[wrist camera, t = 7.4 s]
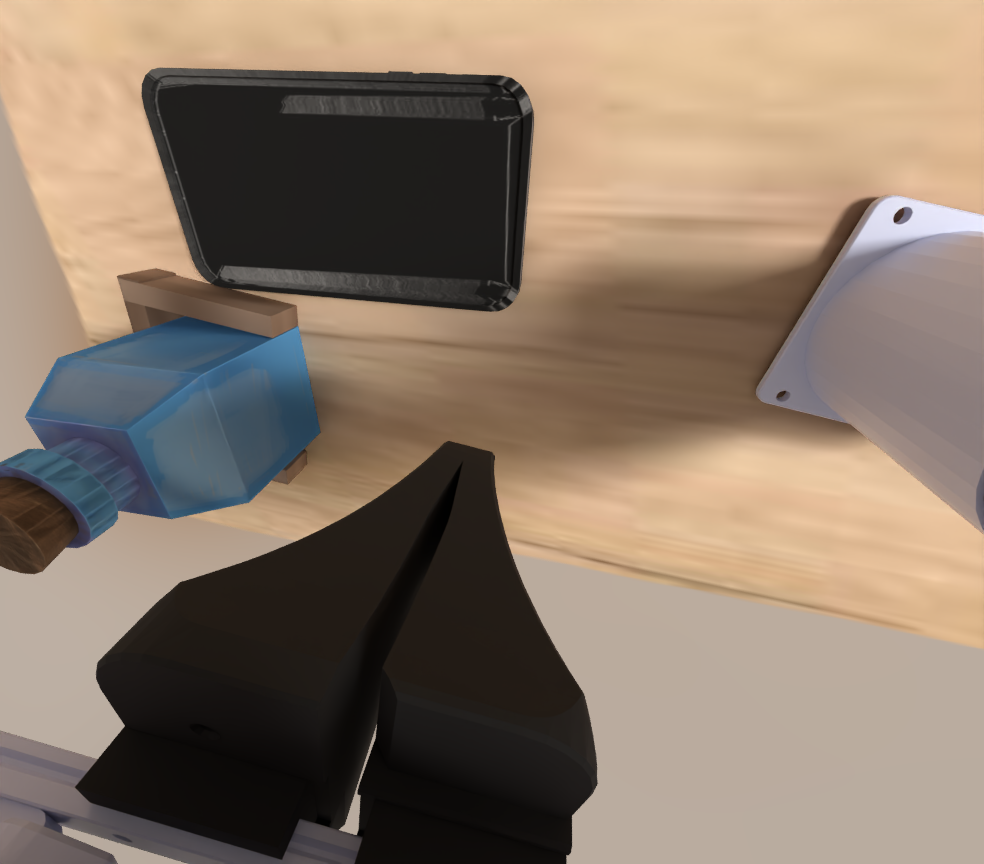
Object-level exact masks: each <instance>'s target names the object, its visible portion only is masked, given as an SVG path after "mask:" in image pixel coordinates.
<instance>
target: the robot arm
mask: <svg viewBox="0 0 984 864" xmlns="http://www.w3.org/2000/svg"><path fill="white" fill-rule="evenodd" d="M901 208H904V215H903V217H902V218H901V219H900V220H899V221H898V222H896V223H894V221H893V217H894V215H895V213H896V212H897V211H898V210H899V209H901ZM781 391H786V393H785V395H783V396H782V397H780V398H776V396H777V394H778V393H779V392H781ZM756 396H757V397H758V398H759V399H760V400H761V401H762V402H764V403H767V404H772V405H776V406H780V407H784V408H788V409H792V410H796V411H800V412H804V413H808V414H812V415H816V416H820V417H824V418H828V419H832V420H836V421H840V422H844V423H848V424H851V425H852V426H853V427H854V428H855V429H857V430H858V431H859V432H860V433H862V434H863V435H864V436H865V437H866V438H868V439H869V440H870V441H871V442H872V443H874V444H875V445H876V446H877V447H878V448H880V449H881V450H882V451H883V452H884V453H886V454H887V455H888V456H889V457H891V458H892V459H893V460H894V461H895V462H897V463H898V464H899V465H900V466H901V467H903V468H904V469H905V470H906V471H907V472H909V473H910V474H911V475H912V476H914V477H915V478H916V479H917V480H918V481H920V482H921V483H922V484H923V485H924V486H926V487H927V488H928V489H929V490H930V491H932V492H933V493H934V494H935V495H936V496H938V497H939V498H940V499H941V500H943V501H944V502H945V503H946V504H947V505H949V506H950V507H951V508H952V509H953V510H955V511H956V512H957V513H958V514H959V515H961V516H962V517H963V518H964V519H966V520H967V521H968V522H969V523H970V524H972V525H973V526H974V527H975V528H976V529H978V530H979V531H980V532H981V533H982V534H984V215H981V214H976V213H972V212H968V211H963V210H959V209H954V208H950V207H946V206H941V205H937V204H933V203H928V202H924V201H919V200H915V199H911V198H906V197H902V196H892V195H885V196H882V197H880V198H878V199H876V200H875V201H873V202H872V203H871V204H870V205H869V207H868V208H867V209H866V211H865V212H864V214H863V216H862V217H861V219H860V221H859V222H858V224H857V225H856V227H855V229H854V230H853V232H852V234H851V235H850V237H849V238H848V240H847V242H846V243H845V245H844V247H843V248H842V250H841V251H840V253H839V255H838V256H837V258H836V260H835V261H834V263H833V264H832V266H831V268H830V269H829V271H828V273H827V274H826V276H825V277H824V279H823V281H822V282H821V284H820V286H819V287H818V289H817V290H816V292H815V294H814V295H813V297H812V299H811V300H810V302H809V304H808V305H807V307H806V308H805V310H804V312H803V313H802V315H801V317H800V318H799V320H798V321H797V323H796V325H795V326H794V328H793V330H792V331H791V333H790V334H789V336H788V338H787V339H786V341H785V343H784V344H783V346H782V347H781V349H780V351H779V352H778V354H777V356H776V357H775V359H774V360H773V362H772V364H771V365H770V367H769V369H768V370H767V372H766V373H765V375H764V377H763V378H762V380H761V382H760V383H759V385H758V387H757V389H756ZM494 460H495V456H494V454H493V453H492V452H490V451H486V450H482V449H478V448H474V447H470V446H466V445H462V444H459V443H455V442H451V441H447V442H445V443H444V444H443V445H442V446H441V447H440V448H439V449H438V450H437V451H436V452H435V453H433V454H432V455H431V456H430V457H429V458H428V459H427V460H426V461H425V462H423V463H422V464H421V465H420V466H419V467H417V468H416V469H415V470H414V471H413V472H411V473H410V474H409V475H408V476H406V477H405V478H404V479H403V480H401V481H400V482H399V483H397V484H396V485H394V486H393V487H391V488H390V489H389V490H387V491H386V492H384V493H383V494H382V495H380V496H379V497H377V498H376V499H374V500H373V501H371V502H370V503H368V504H366V505H365V506H363V507H362V508H360V509H358V510H357V511H355V512H353V513H351V514H350V515H348V516H346V517H344V518H343V519H341V520H339V521H337V522H335V523H333V524H331V525H329V526H327V527H325V528H323V529H321V530H319V531H317V532H315V533H313V534H311V535H309V536H307V537H305V538H302V539H300V540H298V541H296V542H293V543H291V544H288V545H286V546H284V547H281V548H279V549H276V550H274V551H271V552H269V553H267V554H264V555H261V556H259V557H256V558H253V559H251V560H248V561H245V562H242V563H239V564H236V565H233V566H230V567H227V568H224V569H221V570H218V571H215V572H212V573H209V574H205V575H202V576H199V577H196V578H193V579H189V580H186V581H183V582H180V583H179V584H178V585H177V586H175V587H174V588H173V589H172V590H171V591H170V592H169V593H167V594H166V595H165V596H164V597H163V598H162V599H160V600H159V601H158V602H157V603H156V604H155V605H154V606H153V607H152V608H151V609H150V610H149V611H148V612H147V613H146V614H145V615H144V616H143V617H142V618H141V619H140V620H139V621H138V622H137V623H136V624H135V625H134V626H133V627H132V628H131V629H130V630H129V631H128V632H127V633H126V634H125V635H124V636H123V637H122V638H121V639H120V640H119V641H118V642H117V643H116V644H115V645H114V646H113V647H112V648H111V649H110V650H109V651H108V652H107V653H106V654H105V655H104V656H103V657H102V659H100V660H99V662H98V664H97V670H96V679H97V682H98V684H99V686H100V689H101V690H102V692H103V693H104V695H105V696H106V698H107V699H108V701H109V702H110V704H111V705H112V707H113V708H114V710H115V711H116V713H117V714H118V716H119V717H120V719H121V720H122V722H123V723H124V725H125V727H124V728H123V729H122V731H121V732H120V733H119V734H118V736H117V737H116V738H115V739H114V740H113V741H112V743H111V744H110V745H109V746H108V748H107V749H106V750H105V751H104V752H103V754H102V755H101V756H100V757H99V759H95V758H92V757H88V756H84V755H81V754H78V753H75V752H71V751H68V750H64V749H61V748H57V747H54V746H51V745H47V744H44V743H41V742H37V741H34V740H30V739H27V738H23V737H20V736H17V735H13V734H10V733H6V732H3V731H0V864H118V863H117V861H116V860H115V858H114V856H113V855H112V854H110V853H108V852H105V851H103V850H100V849H98V848H95V847H93V846H91V845H88V844H86V843H83V842H81V841H78V840H76V839H73V838H71V837H69V836H66V835H63V833H62V826H65V827H68V828H71V829H75V830H78V831H81V832H85V833H88V834H91V835H95V836H98V837H101V838H104V839H108V840H111V841H115V842H118V843H121V844H125V845H128V846H131V847H135V848H138V849H141V850H144V851H148V852H151V853H154V854H158V855H161V856H164V857H168V858H171V859H174V860H178V861H181V862H184V863H188V864H566V855H569V854H570V853H571V848H572V815H573V814H574V813H575V812H576V811H577V810H578V809H579V808H580V806H581V805H582V804H583V803H584V802H585V801H586V800H587V799H588V798H589V797H590V796H591V795H592V794H593V792H594V790H595V788H596V786H597V762H596V752H595V745H594V739H593V733H592V727H591V722H590V717H589V713H588V708H587V704H586V700H585V696H584V693H583V692H582V690H581V688H580V687H579V685H578V684H577V682H576V681H575V679H574V678H573V676H572V674H571V673H570V671H569V670H568V668H567V666H566V665H565V663H564V661H563V660H562V658H561V656H560V655H559V653H558V651H557V650H556V648H555V646H554V644H553V643H552V641H551V639H550V637H549V635H548V633H547V632H546V630H545V628H544V626H543V624H542V622H541V620H540V618H539V616H538V614H537V612H536V610H535V608H534V606H533V604H532V602H531V599H530V597H529V595H528V593H527V591H526V589H525V587H524V585H523V582H522V580H521V577H520V575H519V572H518V570H517V567H516V565H515V562H514V559H513V556H512V553H511V551H510V548H509V544H508V541H507V538H506V535H505V531H504V527H503V523H502V519H501V515H500V511H499V505H498V500H497V495H496V488H495V478H494ZM376 725H377V730H376V739H375V742H374V745H373V747H372V750H371V753H370V756H369V759H368V762H367V764H366V767H365V770H364V773H363V776H362V779H361V782H360V785H359V788H358V795H361V798H360V815H359V830H358V833H357V835H353V834H350V833H347V832H343V831H340V830H339V829H340V828H341V827H342V826H343V825H345V822H346V819H347V816H348V813H349V810H350V806H351V803H352V800H353V797H354V794H355V790H356V787H357V784H358V781H359V778H360V774H361V771H362V768H363V765H364V762H365V759H366V756H367V753H368V750H369V746H370V743H371V740H372V737H373V734H374V731H375V728H376ZM60 825H61V826H60Z"/></svg>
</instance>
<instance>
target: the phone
mask: <svg viewBox="0 0 984 864" xmlns="http://www.w3.org/2000/svg"><path fill="white" fill-rule="evenodd" d="M142 99H143V104H144V108H145V111H146V115H147V118H148V121H149V124H150V127H151V130H152V133H153V137H154V140H155V143H156V146H157V149H158V152H159V155H160V159H161V162H162V165H163V168H164V171H165V174H166V178H167V181H168V184H169V187H170V190H171V193H172V196H173V200H174V203H175V206H176V209H177V212H178V215H179V218H180V222H181V225H182V228H183V231H184V234H185V237H186V241H187V244H188V247H189V250H190V253H191V256H192V259H193V262H194V264H195V266H196V268H197V270H198V271H199V272H200V274H201V275H202V276H203V277H204V278H205V279H206V280H207V281H208V282H210V283H212V284H214V285H215V286H218V287H222V288H231V289H242V290H254V291H265V292H276V293H287V294H298V295H310V296H321V297H332V298H343V299H355V300H366V301H377V302H388V303H400V304H411V305H422V306H433V307H444V308H456V309H467V310H478V311H489V312H492V311H500V310H503V309H505V308H507V307H508V306H509V305H510V304H512V303H513V301H514V300H515V298H516V296H517V295H518V293H519V290H520V286H521V280H522V267H523V255H524V242H525V230H526V217H527V205H528V192H529V180H530V168H531V155H532V143H533V130H534V113H533V108H532V105H531V102H530V99H529V96H528V94H527V93H526V91H525V90H524V89H523V87H522V86H521V84H519V83H518V82H516V81H515V80H514V79H512V78H509V77H505V76H500V75H467V74H462V75H455V74H446V73H420V74H413V73H412V72H391V71H389V73H365V72H321V71H277V70H232V69H188V68H157V69H152V70H151V71H150V72H149V73H147V74H146V75H145V78H144V81H143V83H142Z"/></svg>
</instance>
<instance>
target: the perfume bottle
mask: <svg viewBox="0 0 984 864" xmlns="http://www.w3.org/2000/svg"><path fill="white" fill-rule="evenodd" d="M25 418H26V420H27V421H28V423H29V424H30V426H31V427H32V429H33V431H34V432H35V434H36V435H37V437H38V438H39V440H40V441H41V443H42V444H43V446H44V448H45V449H46V450H43V449H27V450H25V451H23V452H21V453H19V454H17V455H15V456H13V457H11V458H9V459H7V460H4V461H2V462H0V566H2V567H4V568H6V569H9V570H12V571H16V572H20V573H25V574H26V573H27V574H36V573H39V572H42V571H43V570H44V569H45V568H46V567H47V566H48V565H49V564H50V563H51V562H52V561H53V560H54V559H55V558H56V557H57V556H58V554H60V553H61V552H62V551H63V549H65V547H69V548H79V547H82V546H85V545H87V544H89V543H90V542H91V541H93V540H94V539H95V538H97V537H98V536H99V535H101V534H102V533H103V532H105V531H106V530H108V529H109V528H110V527H111V526H113V525H114V523H115V522H116V521H117V519H118V511H124V512H130V513H137V514H143V515H149V516H155V517H162V518H168V519H173V518H179V517H183V516H188V515H193V514H197V513H202V512H207V511H211V510H216V509H221V508H225V507H230V506H235V505H239V504H244V503H249V502H250V501H251V500H252V499H253V498H254V497H255V496H256V495H257V494H258V493H259V492H260V491H261V490H262V489H263V488H264V487H265V486H266V485H267V484H268V483H269V482H270V481H271V480H272V479H273V478H274V477H275V476H276V475H277V474H278V473H279V472H280V471H281V470H283V469H284V468H285V467H286V466H287V465H288V464H289V463H290V462H291V461H292V460H293V459H294V458H295V457H296V456H297V455H298V454H299V453H300V452H301V451H302V450H303V449H304V448H305V447H306V446H307V445H308V444H309V443H310V442H311V441H312V440H313V439H314V438H315V437H316V436H317V435H318V434H319V433H320V427H319V422H318V418H317V413H316V408H315V404H314V399H313V394H312V389H311V385H310V380H309V375H308V370H307V366H306V361H305V356H304V351H303V347H302V342H301V337H300V333H299V328H298V326H296V327H294V328H292V329H290V330H288V331H286V332H284V333H282V334H280V335H278V336H276V337H274V338H270V337H266V336H263V335H259V334H255V333H251V332H247V331H243V330H239V329H235V328H231V327H227V326H223V325H219V324H215V323H211V322H207V321H203V320H199V319H195V318H191V317H187V316H184V317H181V318H178V319H175V320H172V321H169V322H166V323H163V324H160V325H157V326H154V327H151V328H148V329H144V330H141V331H138V332H135V333H132V334H129V335H126V336H123V337H120V338H117V339H114V340H111V341H108V342H105V343H102V344H99V345H96V346H93V347H90V348H87V349H84V350H81V351H78V352H75V353H72V354H69V355H66V356H63V357H60V358H58V359H57V361H56V362H55V364H54V366H53V367H52V369H51V371H50V373H49V375H48V376H47V378H46V381H45V382H44V384H43V385H42V387H41V389H40V391H39V392H38V394H37V396H36V398H35V400H34V401H33V403H32V405H31V407H30V409H29V410H28V412H27V414H26V416H25Z"/></svg>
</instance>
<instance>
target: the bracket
mask: <svg viewBox="0 0 984 864" xmlns="http://www.w3.org/2000/svg"><path fill="white" fill-rule="evenodd" d="M117 278H118V281H119V284H120V288H121V291H122V295H123V298H124V301H125V305H126V308H127V312H128V315H129V318H130V322H131V325H132V329H133V332H134V333H135V332H138V331H141V330H144V329H148V328H151V327H154V326H157V325H160V324H163V323H166V322H169V321H172V320H175V319H178V318H181V317H184V316H187V317H191V318H195V319H199V320H203V321H207V322H211V323H215V324H219V325H223V326H227V327H231V328H235V329H239V330H243V331H247V332H251V333H255V334H259V335H263V336H266V337H270V338H274V337H276V336H278V335H280V334H282V333H284V332H286V331H288V330H290V329H292V328H294V327H296V326H298V321H297V306H296V305H292V304H288V303H284V302H280V301H276V300H272V299H268V298H264V297H260V296H256V295H252V294H248V293H244V292H240V291H236V290H232V289H228V288H222V287H218V286H215V285H212V284H208V283H204V282H200V281H196V280H192V279H188V278H184V277H180V276H176V275H175V273H172V272H168V271H164V270H160V269H151V270H146V271H140V272H135V273H130V274H124V275H119V276H117ZM306 465H307V457H306V451H303V450H302V451H301V452H300V453H299V454H298V455H297V456H296V457H295V458H294V459H293V460H292V461H291V462H290V463H289V464H288V465H287V466H286V467H285V468H284V469H283V470H281V471H280V472H279V473H278V474H277V475H276V476H275V477H274V478H273V479H272V480H273V481H277V482H280V483H284V484H289V483H290V482H291V480H292V479H293V478H294V477H295V476H296V475H297V474H298V473H299V472H300V471H301V470H302V469H303V468H304V467H305V466H306Z"/></svg>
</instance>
